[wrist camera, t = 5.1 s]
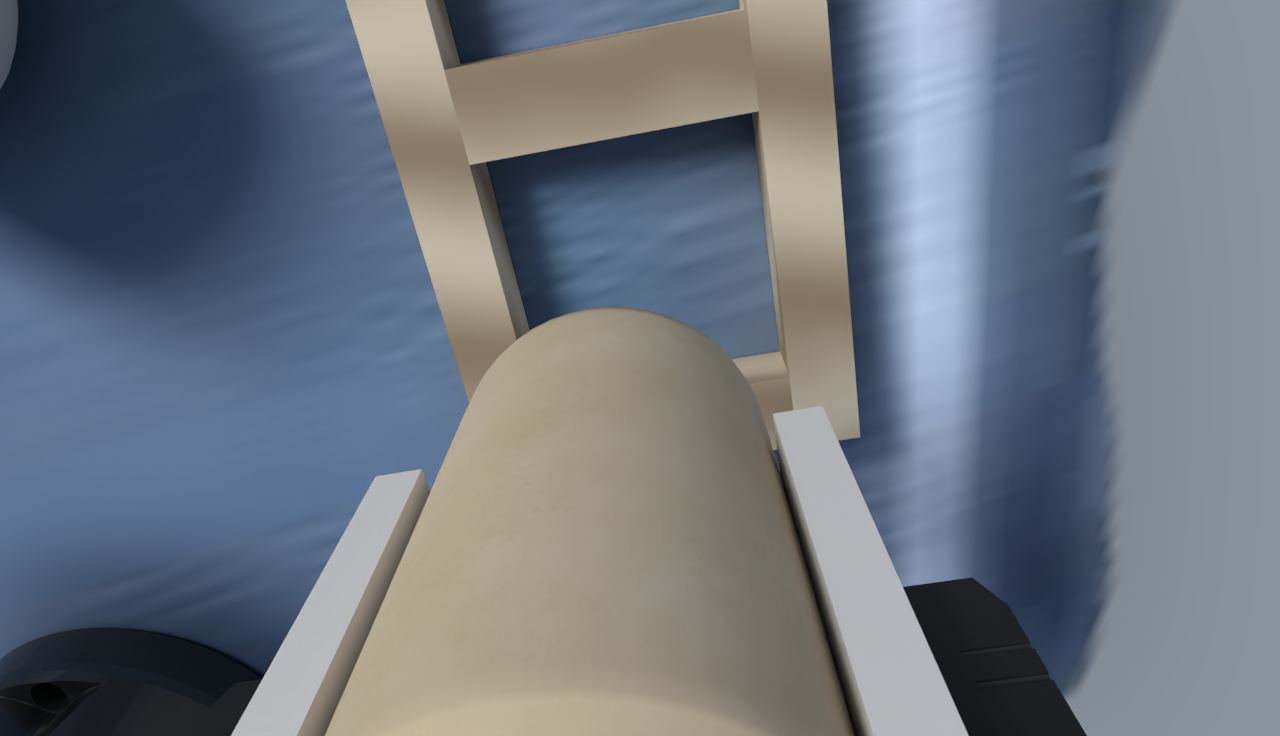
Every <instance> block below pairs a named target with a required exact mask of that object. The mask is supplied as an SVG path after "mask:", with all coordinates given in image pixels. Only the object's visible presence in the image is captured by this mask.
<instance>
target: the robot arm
mask: <svg viewBox="0 0 1280 736" xmlns="http://www.w3.org/2000/svg"><path fill="white" fill-rule="evenodd" d="M773 421H774V428H775V436H776V444H777V452H778V460H779V468H780V475H781V479H782V482H783V486H784V489H785V493H786V496H787V499H788V503H789V506H790V510H791V513H792V517H793V520H794V524H795V527H796V531H797V534H798V538H799V541H800V544H801V548H802V551H803V555H804V558H805V562H806V565H807V569H808V572H809V576H810V579H811V583H812V586H813V589H814V593H815V596H816V600H817V603H818V607H819V610H820V614H821V617H822V621H823V624H824V628H825V631H826V634H827V638H828V641H829V645H830V648H831V652H832V655H833V659H834V662H835V666H836V669H837V672H838V676H839V679H840V683H841V686H842V690H843V693H844V697H845V700H846V704H847V707H848V711H849V714H850V717H851V721H852V724H853V728H854V731H855V735H856V736H1087V735H1086V734H1085V732H1084V730H1083V729H1082V727H1081V725H1080V724H1079V722H1078V720H1077V719H1076V717H1075V716H1074V714H1073V712H1072V710H1071V709H1070V707H1069V705H1068V704H1067V702H1066V700H1065V699H1064V697H1063V695H1062V694H1061V692H1060V690H1059V689H1058V687H1057V685H1056V684H1055V682H1054V681H1053V680H1050V678H1049V674H1048V671H1047V669H1046V667H1045V666H1044V664H1043V662H1042V661H1041V659H1040V657H1039V656H1038V654H1037V652H1036V651H1035V649H1032V648H1031V645H1030V641H1029V639H1028V637H1027V636H1026V634H1025V632H1024V631H1023V629H1022V628H1021V626H1020V624H1019V623H1018V621H1017V619H1016V618H1015V616H1014V614H1013V613H1012V611H1011V609H1010V608H1009V606H1008V605H1007V604H1006V603H1004V602H1003V601H1002V600H1000V599H999V598H998V597H997V596H995V595H994V594H993V593H991V592H990V591H989V590H987V589H986V588H985V587H984V586H982V585H981V584H980V583H978V582H977V581H976V580H974V579H973V578H966V579H958V580H951V581H944V582H937V583H930V584H923V585H915V586H908V587H903V586H902V584H901V582H900V580H899V577H898V575H897V573H896V571H895V568H894V566H893V564H892V562H891V559H890V557H889V555H888V553H887V550H886V548H885V546H884V544H883V541H882V539H881V537H880V534H879V532H878V530H877V528H876V525H875V523H874V521H873V519H872V516H871V514H870V512H869V510H868V507H867V505H866V503H865V501H864V498H863V496H862V494H861V492H860V489H859V487H858V485H857V483H856V480H855V478H854V476H853V474H852V471H851V469H850V467H849V465H848V462H847V460H846V458H845V456H844V453H843V451H842V449H841V446H840V444H839V442H838V440H837V437H836V435H835V433H834V431H833V428H832V426H831V424H830V422H829V419H828V417H827V415H826V413H825V410H824V408H823V406H818V407H812V408H805V409H799V410H793V411H786V412H780V413H774V414H773ZM429 494H430V491H429V489H428V486H427V483H426V480H425V477H424V474H423V471H422V469H420V470H413V471H407V472H401V473H394V474H388V475H382V476H376V477H375V479H374V480H373V482H372V484H371V486H370V488H369V489H368V491H367V493H366V495H365V497H364V498H363V500H362V502H361V504H360V505H359V507H358V509H357V511H356V513H355V514H354V516H353V518H352V520H351V522H350V523H349V525H348V527H347V529H346V531H345V532H344V534H343V536H342V538H341V539H340V541H339V543H338V545H337V547H336V548H335V550H334V552H333V554H332V556H331V557H330V559H329V561H328V563H327V565H326V566H325V568H324V570H323V572H322V573H321V575H320V577H319V579H318V581H317V582H316V584H315V586H314V588H313V590H312V591H311V593H310V595H309V597H308V599H307V600H306V602H305V604H304V606H303V607H302V609H301V611H300V613H299V615H298V616H297V618H296V620H295V622H294V624H293V625H292V627H291V629H290V631H289V633H288V634H287V636H286V638H285V640H284V641H283V643H282V645H281V647H280V649H279V650H278V652H277V654H276V656H275V658H274V659H273V661H272V663H271V665H270V667H269V668H268V670H267V672H266V674H265V676H264V677H263V679H262V678H261V677H259V676H258V675H257V674H255V673H254V672H252V671H250V670H249V669H247V668H245V667H244V666H242V665H240V664H238V663H237V662H235V661H233V660H231V659H229V658H227V657H225V656H223V655H221V654H219V653H216V652H214V651H212V650H209V649H207V648H204V647H202V646H199V645H196V644H193V643H190V642H187V641H184V640H181V639H177V638H174V637H170V636H165V635H161V634H156V633H151V632H146V631H138V630H131V629H119V628H88V629H78V630H71V631H64V632H59V633H55V634H51V635H47V636H44V637H41V638H38V639H36V640H33V641H31V642H28V643H26V644H24V645H22V646H20V647H18V648H16V649H15V650H13V651H12V652H10V653H8V654H7V655H6V656H5V657H3V658H2V659H1V660H0V736H325V734H326V732H327V729H328V727H329V725H330V722H331V720H332V718H333V716H334V713H335V711H336V709H337V706H338V704H339V702H340V699H341V697H342V695H343V692H344V690H345V688H346V686H347V683H348V681H349V679H350V676H351V674H352V672H353V669H354V667H355V665H356V663H357V660H358V658H359V656H360V653H361V651H362V649H363V646H364V644H365V642H366V639H367V637H368V635H369V633H370V630H371V628H372V626H373V623H374V621H375V619H376V616H377V614H378V612H379V609H380V607H381V605H382V603H383V600H384V598H385V596H386V593H387V591H388V589H389V586H390V584H391V582H392V580H393V577H394V575H395V573H396V570H397V568H398V566H399V563H400V561H401V559H402V556H403V554H404V552H405V550H406V547H407V545H408V543H409V540H410V538H411V536H412V533H413V531H414V529H415V527H416V524H417V522H418V520H419V517H420V515H421V513H422V510H423V508H424V506H425V503H426V501H427V499H428V497H429Z"/></svg>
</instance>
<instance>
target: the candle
mask: <svg viewBox="0 0 1280 736" xmlns="http://www.w3.org/2000/svg"><path fill="white" fill-rule="evenodd" d="M325 736H856V735H855V731H854V728H853V724H852V721H851V717H850V714H849V711H848V707H847V704H846V700H845V697H844V693H843V690H842V686H841V683H840V679H839V676H838V672H837V669H836V666H835V662H834V659H833V655H832V652H831V648H830V645H829V641H828V638H827V634H826V631H825V628H824V624H823V621H822V617H821V614H820V610H819V607H818V603H817V600H816V596H815V593H814V589H813V586H812V583H811V579H810V576H809V572H808V569H807V565H806V562H805V558H804V555H803V551H802V548H801V544H800V541H799V538H798V534H797V531H796V527H795V524H794V520H793V517H792V513H791V510H790V506H789V503H788V499H787V496H786V493H785V489H784V486H783V482H782V479H781V475H780V472H779V468H778V465H777V461H776V458H775V454H774V451H773V448H772V444H771V441H770V437H769V434H768V431H767V428H766V425H765V422H764V419H763V416H762V413H761V410H760V407H759V404H758V402H757V399H756V396H755V394H754V392H753V391H752V389H751V387H750V385H749V383H748V381H747V380H746V378H745V377H744V375H743V374H742V373H741V371H740V370H739V368H738V367H737V366H736V364H735V363H734V362H733V360H732V359H731V358H730V357H729V356H728V355H727V354H726V353H725V352H724V351H723V350H722V349H721V348H720V347H719V346H718V345H717V344H715V343H714V342H713V341H712V340H710V339H709V338H708V337H707V336H705V335H704V334H702V333H701V332H699V331H697V330H696V329H694V328H692V327H691V326H689V325H687V324H685V323H682V322H680V321H678V320H676V319H673V318H671V317H668V316H665V315H661V314H658V313H655V312H651V311H646V310H640V309H634V308H620V307H605V308H593V309H586V310H581V311H577V312H572V313H568V314H565V315H562V316H560V317H557V318H554V319H551V320H549V321H547V322H545V323H543V324H541V325H539V326H537V327H535V328H533V329H532V330H530V331H529V332H527V333H526V334H524V335H523V336H521V337H520V338H518V339H517V340H516V341H515V342H514V343H513V344H512V345H510V346H509V347H508V348H507V349H506V350H505V351H504V352H503V353H502V354H501V355H500V356H499V357H498V358H497V359H496V361H495V362H494V363H493V364H492V365H491V367H490V368H489V369H488V370H487V372H486V373H485V375H484V376H483V378H482V380H481V381H480V383H479V385H478V386H477V388H476V390H475V392H474V394H473V396H472V399H471V401H470V403H469V405H468V407H467V409H466V411H465V414H464V416H463V418H462V420H461V423H460V425H459V427H458V430H457V432H456V434H455V437H454V439H453V441H452V444H451V446H450V448H449V450H448V453H447V455H446V457H445V460H444V462H443V464H442V467H441V469H440V471H439V474H438V476H437V478H436V480H435V483H434V485H433V487H432V490H431V492H430V494H429V497H428V499H427V501H426V503H425V506H424V508H423V510H422V513H421V515H420V517H419V520H418V522H417V524H416V527H415V529H414V531H413V533H412V536H411V538H410V540H409V543H408V545H407V547H406V550H405V552H404V554H403V556H402V559H401V561H400V563H399V566H398V568H397V570H396V573H395V575H394V577H393V580H392V582H391V584H390V586H389V589H388V591H387V593H386V596H385V598H384V600H383V603H382V605H381V607H380V609H379V612H378V614H377V616H376V619H375V621H374V623H373V626H372V628H371V630H370V633H369V635H368V637H367V639H366V642H365V644H364V646H363V649H362V651H361V653H360V656H359V658H358V660H357V663H356V665H355V667H354V669H353V672H352V674H351V676H350V679H349V681H348V683H347V686H346V688H345V690H344V692H343V695H342V697H341V699H340V702H339V704H338V706H337V709H336V711H335V713H334V716H333V718H332V720H331V722H330V725H329V727H328V729H327V732H326V734H325Z"/></svg>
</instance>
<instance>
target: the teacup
mask: <svg viewBox="0 0 1280 736" xmlns="http://www.w3.org/2000/svg"><path fill="white" fill-rule="evenodd" d="M17 29H18V3H17V0H0V89H1V88H2V86H3V84H4V82H5V80H6V78H7V76H8V74H9V71H10V67H11V64H12V60H13V56H14V53H15V48H16V40H17Z"/></svg>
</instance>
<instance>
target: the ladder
mask: <svg viewBox="0 0 1280 736" xmlns="http://www.w3.org/2000/svg"><path fill="white" fill-rule="evenodd" d="M738 1H739V9H737V10H732V11H727V12H722V13H717V14H712V15H707V16H701V17H696V18H691V19H686V20H681V21H676V22H671V23H666V24H661V25H656V26H651V27H646V28H641V29H636V30H631V31H626V32H621V33H616V34H610V35H605V36H600V37H595V38H590V39H585V40H580V41H575V42H570V43H565V44H560V45H555V46H550V47H545V48H540V49H535V50H530V51H524V52H519V53H514V54H509V55H504V56H499V57H494V58H489V59H484V60H479V61H474V62H469V63H464V64H460V60H459V56H458V52H457V48H456V45H455V41H454V37H453V33H452V29H451V25H450V21H449V18H448V14H447V10H446V6H445V2H444V0H346V3H347V7H348V10H349V13H350V16H351V20H352V23H353V26H354V29H355V33H356V36H357V39H358V42H359V46H360V49H361V52H362V55H363V59H364V62H365V65H366V69H367V72H368V75H369V78H370V82H371V85H372V88H373V91H374V95H375V98H376V101H377V104H378V108H379V111H380V114H381V117H382V121H383V124H384V127H385V131H386V134H387V137H388V140H389V144H390V147H391V150H392V153H393V157H394V160H395V163H396V166H397V170H398V173H399V176H400V179H401V183H402V186H403V189H404V193H405V196H406V199H407V202H408V206H409V209H410V212H411V215H412V219H413V222H414V225H415V228H416V232H417V235H418V238H419V241H420V245H421V248H422V251H423V255H424V258H425V261H426V264H427V268H428V271H429V274H430V277H431V281H432V284H433V287H434V290H435V294H436V297H437V300H438V303H439V307H440V310H441V313H442V317H443V320H444V323H445V326H446V330H447V333H448V336H449V339H450V343H451V346H452V349H453V352H454V356H455V359H456V362H457V365H458V369H459V372H460V375H461V379H462V382H463V385H464V388H465V392H466V395H467V398H468V401H469V403H470V401H471V399H472V396H473V394H474V392H475V390H476V388H477V386H478V385H479V383H480V381H481V380H482V378H483V376H484V375H485V373H486V372H487V370H488V369H489V368H490V367H491V365H492V364H493V363H494V362H495V361H496V359H497V358H498V357H499V356H500V355H501V354H502V353H503V352H504V351H505V350H506V349H507V348H508V347H509V346H510V345H512V344H513V343H514V342H515V341H516V340H517V339H518V338H520V337H521V336H523V335H524V334H526V333H527V332H529V331H530V330H529V326H528V322H527V318H526V314H525V311H524V307H523V303H522V299H521V295H520V291H519V287H518V284H517V280H516V276H515V272H514V268H513V264H512V260H511V257H510V253H509V249H508V245H507V241H506V237H505V233H504V230H503V226H502V222H501V218H500V214H499V210H498V207H497V203H496V199H495V195H494V191H493V187H492V183H491V180H490V176H489V172H488V168H487V164H486V162H489V161H494V160H499V159H505V158H510V157H515V156H521V155H526V154H532V153H537V152H542V151H548V150H553V149H558V148H564V147H569V146H575V145H580V144H585V143H591V142H596V141H601V140H607V139H612V138H618V137H623V136H628V135H634V134H639V133H644V132H650V131H655V130H661V129H666V128H671V127H677V126H682V125H687V124H693V123H698V122H704V121H709V120H714V119H720V118H725V117H730V116H736V115H741V114H747V113H752V119H753V127H754V136H755V144H756V152H757V161H758V169H759V178H760V186H761V194H762V203H763V211H764V220H765V228H766V237H767V245H768V253H769V262H770V270H771V279H772V287H773V296H774V304H775V312H776V321H777V329H778V338H779V346H780V351H779V352H773V353H766V354H760V355H754V356H747V357H741V358H735V359H732V360H733V362H734V363H735V364H736V366H737V367H738V368H739V370H740V371H741V373H742V374H743V375H744V377H745V378H746V380H747V381H748V383H749V385H750V387H751V389H752V391H753V392H754V394H755V396H756V399H757V402H758V404H759V407H760V410H761V413H762V416H763V419H764V422H765V425H766V428H767V431H768V434H769V437H770V441H771V444H772V448H773V450H777V444H776V436H775V428H774V421H773V414H774V413H780V412H786V411H793V410H799V409H805V408H812V407H818V406H823V408H824V410H825V413H826V415H827V417H828V419H829V422H830V424H831V426H832V428H833V431H834V433H835V435H836V437H837V440H838V441H839V440H846V439H852V438H859V437H860V427H859V414H858V401H857V387H856V374H855V361H854V348H853V335H852V322H851V309H850V296H849V283H848V270H847V257H846V244H845V231H844V218H843V204H842V191H841V178H840V165H839V152H838V139H837V126H836V113H835V100H834V87H833V74H832V61H831V48H830V35H829V21H828V8H827V0H738Z"/></svg>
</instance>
